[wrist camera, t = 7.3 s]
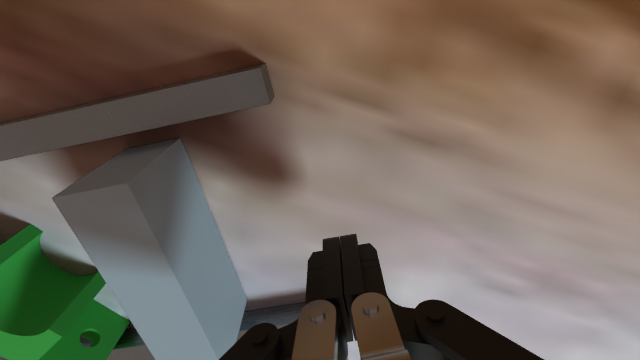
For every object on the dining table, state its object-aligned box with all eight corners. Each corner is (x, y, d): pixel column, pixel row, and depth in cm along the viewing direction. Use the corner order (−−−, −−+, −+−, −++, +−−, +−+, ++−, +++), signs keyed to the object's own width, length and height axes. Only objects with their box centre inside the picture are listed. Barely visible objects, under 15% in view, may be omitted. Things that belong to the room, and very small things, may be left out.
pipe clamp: (154, 299, 22) (115, 366, 18) (123, 326, 23) (79, 395, 19) (-22, 187, 18) (-123, 239, 14) (-49, 227, 19) (-150, 286, 15)
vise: (-194, 166, 17) (-373, 218, 13) (265, 63, 15) (241, 83, 10) (-2, 364, 24) (-76, 444, 20) (333, 315, 22) (336, 393, 17)
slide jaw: (124, 149, 17) (51, 197, 12) (180, 137, 16) (127, 183, 12) (202, 306, 22) (170, 383, 17) (247, 299, 21) (226, 376, 17)
